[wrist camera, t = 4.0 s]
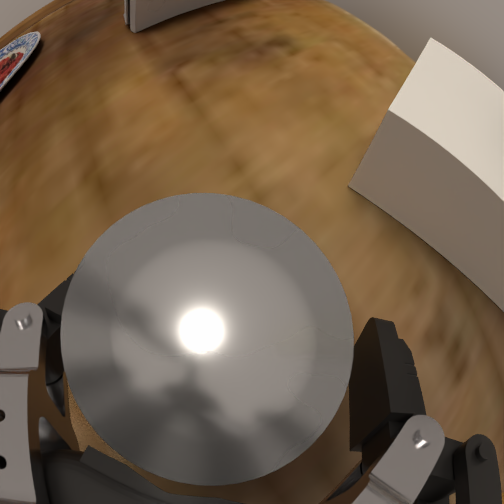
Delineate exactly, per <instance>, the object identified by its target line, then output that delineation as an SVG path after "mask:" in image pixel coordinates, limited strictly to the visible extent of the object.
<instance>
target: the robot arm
mask: <svg viewBox="0 0 504 504" xmlns="http://www.w3.org/2000/svg"><path fill="white" fill-rule="evenodd" d="M75 272H76V271H75ZM74 274H75V273H74ZM74 274H72V275H70V276H69V277H68V278H67V280H66V281H63V282H62V283H61V284H60V285H59V286H58V287H57V288H55V289H54V290H53V291H52V292H51V293H50V294H49V295H48V296H46V297H45V298H44V299H43V300H42V301H41V302H40V303H39V304H38V305H36V304H34V303H21V304H18V305H16V306H14V307H12V308H11V309H10V310H9V311H6V310H2V309H0V504H243V503H239V502H234V501H230V500H225V499H221V498H212V497H196V496H185V495H176V494H170V493H167V492H164V491H162V490H161V489H159V488H158V487H156V486H155V485H153V484H152V483H150V482H149V481H148V480H146V479H145V478H143V477H142V476H140V475H139V474H138V473H136V472H135V471H134V470H132V469H131V468H130V467H128V466H127V465H125V464H123V463H121V462H119V461H117V460H115V459H113V458H111V457H109V456H107V455H105V454H103V453H101V452H100V451H98V450H96V449H94V448H92V447H90V446H89V445H88V447H87V448H86V450H85V452H82V451H80V449H79V444H78V441H77V438H76V435H75V432H74V430H73V427H72V424H71V418H70V409H69V397H68V382H67V377H66V373H65V370H64V365H63V359H62V353H61V336H60V332H61V319H62V312H63V307H64V302H65V298H66V295H67V291H68V288H69V286H70V283H71V280H72V278H73V276H74ZM349 408H350V451H356V452H362V460H360V461H359V462H358V463H357V464H356V465H355V467H354V468H353V469H352V470H351V471H350V472H349V473H348V474H347V476H346V477H345V478H344V479H343V480H342V481H341V482H340V483H339V484H338V485H337V486H336V487H335V488H334V489H333V490H332V491H331V492H330V493H329V494H328V495H327V496H326V497H325V498H324V499H323V500H322V501H321V502H320V503H319V504H449V495H451V494H453V493H455V492H456V504H502V493H501V483H500V475H499V468H498V461H497V455H496V450H495V447H494V445H493V443H492V442H491V440H490V439H489V438H487V437H486V436H484V435H481V434H476V435H473V436H472V437H471V438H469V439H468V440H467V441H466V442H464V443H462V442H459V441H456V440H453V439H450V438H447V437H444V432H443V430H442V428H441V426H440V425H439V424H438V422H437V421H435V420H434V419H433V418H431V417H429V416H427V415H426V411H425V406H424V401H423V397H422V392H421V388H420V384H419V379H418V377H417V371H416V368H415V366H414V360H413V356H412V353H411V350H410V349H409V348H408V346H407V345H406V343H405V342H404V340H403V339H398V335H397V332H396V328H395V325H394V323H393V322H392V321H387V320H382V319H378V318H373V317H372V318H370V319H369V320H368V322H367V324H366V326H365V327H364V329H363V331H362V333H361V335H360V337H359V338H358V340H357V342H356V344H355V346H354V350H353V362H352V368H351V374H350V379H349Z"/></svg>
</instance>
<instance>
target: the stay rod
mask: <svg viewBox="0 0 504 504" xmlns="http://www.w3.org/2000/svg"><path fill="white" fill-rule="evenodd" d="M60 336H61V353H62V359H63V365H64V370H65V373H66V377H67V380H68V383H69V387H70V389H71V391H72V394H73V396H74V398H75V400H76V403H77V404H78V406H79V408H80V410H81V411H82V413H83V415H84V416H85V418H86V419H87V421H88V422H89V423H90V425H91V426H92V427H93V429H94V430H95V431H96V432H97V434H98V435H99V436H100V437H101V438H102V439H103V440H104V441H105V442H106V443H107V444H108V445H109V446H110V447H111V448H112V449H114V450H115V451H116V452H117V453H119V454H120V455H121V456H123V457H124V458H125V459H127V460H128V461H130V462H131V463H133V464H135V465H137V466H138V467H140V468H142V469H144V470H146V471H148V472H150V473H153V474H155V475H157V476H160V477H163V478H166V479H169V480H173V481H176V482H181V483H187V484H194V485H211V486H219V485H228V484H236V483H241V482H245V481H249V480H253V479H256V478H259V477H262V476H264V475H267V474H269V473H271V472H274V471H276V470H278V469H280V468H281V467H283V466H285V465H286V464H288V463H290V462H291V461H293V460H294V459H296V458H297V457H298V456H299V455H301V454H302V453H303V452H304V451H305V450H307V449H308V448H309V447H310V446H311V445H312V444H313V443H314V442H315V441H316V440H317V439H318V437H319V436H320V435H321V434H322V433H323V432H324V430H325V429H326V428H327V426H328V425H329V423H330V422H331V420H332V419H333V417H334V416H335V414H336V412H337V410H338V408H339V406H340V404H341V402H342V399H343V397H344V395H345V391H346V388H347V385H348V382H349V379H350V374H351V368H352V362H353V350H354V334H353V326H352V318H351V313H350V309H349V305H348V302H347V298H346V295H345V292H344V290H343V287H342V285H341V283H340V280H339V278H338V276H337V274H336V273H335V271H334V269H333V267H332V266H331V264H330V262H329V261H328V259H327V258H326V256H325V255H324V254H323V253H322V251H321V250H320V249H319V248H318V246H317V245H316V244H315V243H314V242H313V241H312V240H311V239H310V238H309V237H308V236H307V235H306V234H305V233H304V232H303V231H302V230H301V229H300V228H298V227H297V226H296V225H294V224H293V223H292V222H290V221H289V220H288V219H286V218H285V217H283V216H282V215H280V214H278V213H276V212H274V211H273V210H271V209H269V208H267V207H265V206H262V205H260V204H257V203H255V202H252V201H250V200H246V199H242V198H238V197H235V196H230V195H223V194H215V193H192V194H184V195H176V196H172V197H168V198H164V199H160V200H157V201H155V202H152V203H149V204H147V205H144V206H142V207H140V208H138V209H136V210H135V211H133V212H131V213H129V214H127V215H126V216H124V217H123V218H121V219H120V220H119V221H117V222H116V223H115V224H113V225H112V226H111V227H110V228H109V229H108V230H107V231H105V232H104V233H103V234H102V235H101V236H100V237H99V238H98V239H97V241H96V242H95V243H94V244H93V245H92V247H91V248H90V249H89V250H88V252H87V253H86V255H85V256H84V258H83V259H82V261H81V262H80V264H79V266H78V268H77V270H76V272H75V274H74V276H73V278H72V280H71V283H70V286H69V288H68V291H67V295H66V298H65V302H64V307H63V312H62V319H61V332H60Z"/></svg>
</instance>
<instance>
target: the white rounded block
mask: <svg viewBox="0 0 504 504" xmlns="http://www.w3.org/2000/svg"><path fill="white" fill-rule="evenodd" d="M220 1H224V0H125V14H124V19H125V23H126V25H128V24H130V30H131V31H132V32H134V33H136V32H139V31H141V30H143V29H145V28H147V27H150V26H152V25H154V24H157V23H159V22H161V21H164V20H166V19H169V18H172V17H174V16H177V15H179V14H182V13H185V12H188V11H191V10H194V9H197V8H200V7H203V6H206V5H210V4H213V3H216V2H220Z"/></svg>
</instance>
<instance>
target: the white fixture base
mask: <svg viewBox="0 0 504 504" xmlns="http://www.w3.org/2000/svg"><path fill="white" fill-rule="evenodd" d="M348 186H349V187H350V188H352V189H353V190H355V191H356V192H358V193H359V194H361V195H362V196H364V197H365V198H367V199H368V200H369V201H371V202H372V203H374V204H375V205H377V206H378V207H380V208H381V209H382V210H384V211H385V212H387V213H388V214H389V215H391V216H392V217H393V218H395V219H396V220H398V221H399V222H400V223H402V224H403V225H404V226H406V227H407V228H408V229H410V230H411V231H412V232H414V233H415V234H416V235H417V236H419V237H420V238H421V239H423V240H424V241H425V242H426V243H428V244H429V245H430V246H431V247H433V248H434V249H435V250H436V251H437V252H439V253H440V254H441V255H442V256H443V257H445V258H446V259H447V260H448V261H449V262H451V263H452V264H453V265H454V266H455V267H456V268H458V269H459V270H460V271H461V272H462V273H463V274H464V275H466V276H467V277H468V278H469V279H470V280H471V281H472V282H473V283H474V284H475V285H477V286H478V287H479V288H480V289H481V290H482V291H483V292H484V293H485V294H486V295H487V296H488V297H489V298H490V299H491V300H492V301H493V302H494V303H495V304H496V305H497V306H498V307H499V308H500V309H501V310H502V311H503V312H504V91H503V90H502V89H501V88H500V87H498V86H497V85H496V84H495V83H494V82H493V81H491V80H490V79H489V78H488V77H487V76H485V75H484V74H483V73H481V72H480V71H479V70H477V69H476V68H475V67H474V66H472V65H471V64H470V63H468V62H467V61H465V60H464V59H463V58H461V57H460V56H458V55H457V54H456V53H454V52H452V51H451V50H449V49H448V48H446V47H445V46H443V45H442V44H440V43H439V42H437V41H435V40H434V39H432V38H430V40H429V41H428V43H427V45H426V47H425V48H424V50H423V52H422V54H421V56H420V57H419V59H418V61H417V62H416V64H415V66H414V67H413V69H412V71H411V73H410V74H409V76H408V78H407V79H406V81H405V83H404V84H403V86H402V88H401V89H400V91H399V93H398V94H397V96H396V98H395V99H394V101H393V102H392V104H391V106H390V107H389V109H388V111H387V113H386V115H385V117H384V119H383V121H382V123H381V125H380V127H379V129H378V131H377V133H376V134H375V136H374V138H373V140H372V142H371V144H370V146H369V148H368V150H367V152H366V154H365V155H364V157H363V159H362V161H361V163H360V165H359V167H358V168H357V170H356V172H355V174H354V176H353V178H352V179H351V181H350V183H349V185H348Z"/></svg>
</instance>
